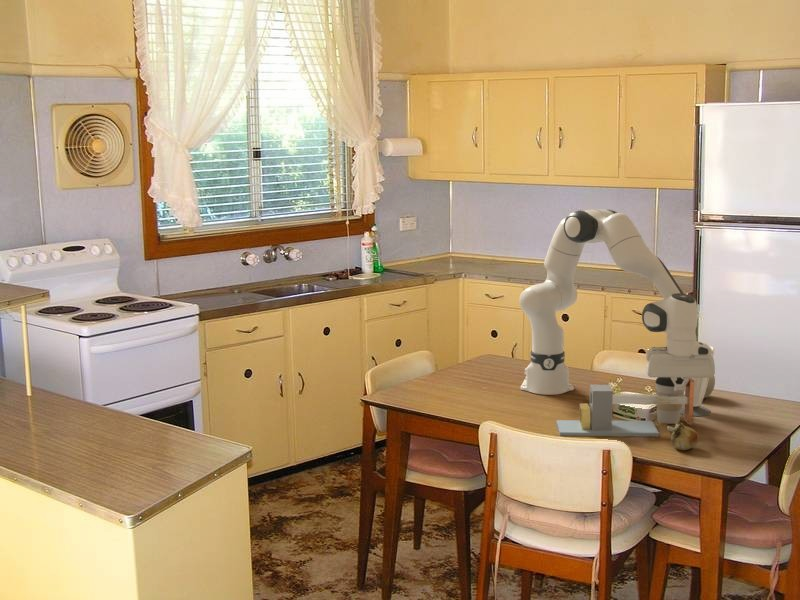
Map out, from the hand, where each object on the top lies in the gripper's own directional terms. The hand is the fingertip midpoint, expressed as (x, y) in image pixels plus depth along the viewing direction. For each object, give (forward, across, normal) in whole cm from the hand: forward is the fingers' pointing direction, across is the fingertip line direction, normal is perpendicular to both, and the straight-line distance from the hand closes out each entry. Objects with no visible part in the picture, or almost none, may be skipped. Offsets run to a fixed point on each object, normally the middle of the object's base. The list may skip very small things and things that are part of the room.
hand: (679, 390), depth 301 cm
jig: (+13, -22, 0) cm, 25 cm away
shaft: (+10, -11, 0) cm, 15 cm away
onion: (+13, -2, -17) cm, 21 cm away
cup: (+13, +9, +20) cm, 26 cm away
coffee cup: (+13, -1, +10) cm, 17 cm away
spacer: (+12, -29, 0) cm, 31 cm away
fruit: (+13, +14, +35) cm, 40 cm away
